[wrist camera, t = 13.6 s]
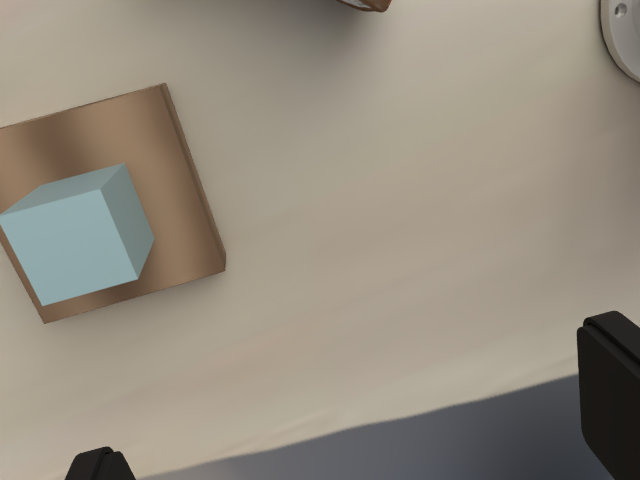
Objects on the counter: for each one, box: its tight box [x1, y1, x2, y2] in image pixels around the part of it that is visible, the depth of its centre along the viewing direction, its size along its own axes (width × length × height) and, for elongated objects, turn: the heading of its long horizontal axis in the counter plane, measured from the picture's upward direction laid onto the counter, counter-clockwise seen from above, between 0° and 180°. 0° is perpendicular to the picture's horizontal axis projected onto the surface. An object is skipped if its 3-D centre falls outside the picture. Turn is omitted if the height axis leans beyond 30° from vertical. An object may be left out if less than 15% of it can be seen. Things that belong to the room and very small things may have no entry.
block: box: [0, 163, 155, 306], centre depth 28 cm, size 5×5×6 cm
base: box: [0, 83, 226, 324], centre depth 32 cm, size 12×12×3 cm
